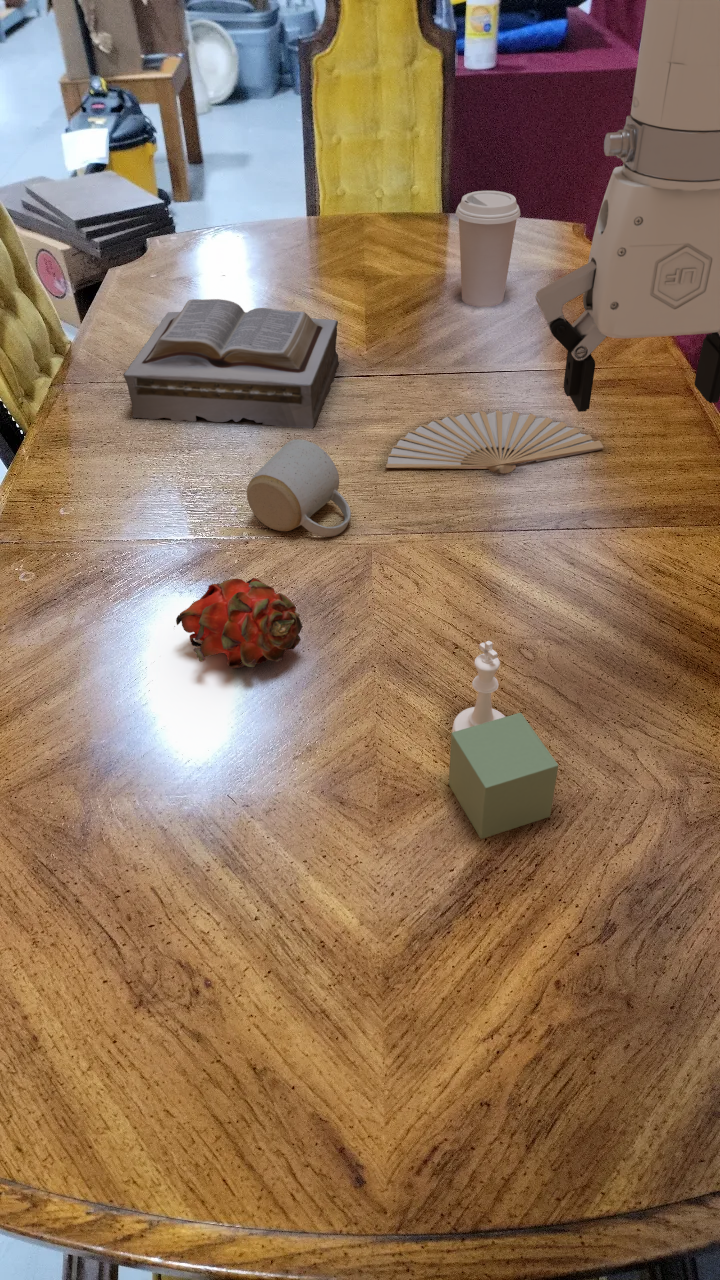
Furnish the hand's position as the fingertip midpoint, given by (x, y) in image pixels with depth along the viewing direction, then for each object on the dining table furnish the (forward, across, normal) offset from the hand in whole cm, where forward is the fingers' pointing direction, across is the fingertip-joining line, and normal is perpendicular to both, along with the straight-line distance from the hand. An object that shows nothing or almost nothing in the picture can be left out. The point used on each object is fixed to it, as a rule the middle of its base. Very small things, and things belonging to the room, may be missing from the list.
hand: (642, 398), depth 73 cm
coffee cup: (+26, +6, +85) cm, 89 cm away
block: (+26, -12, -15) cm, 32 cm away
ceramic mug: (+26, -25, +27) cm, 45 cm away
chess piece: (+26, -12, -7) cm, 30 cm away
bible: (+26, -32, +59) cm, 72 cm away
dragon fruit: (+26, -32, +5) cm, 42 cm away
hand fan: (+26, -2, +40) cm, 48 cm away
